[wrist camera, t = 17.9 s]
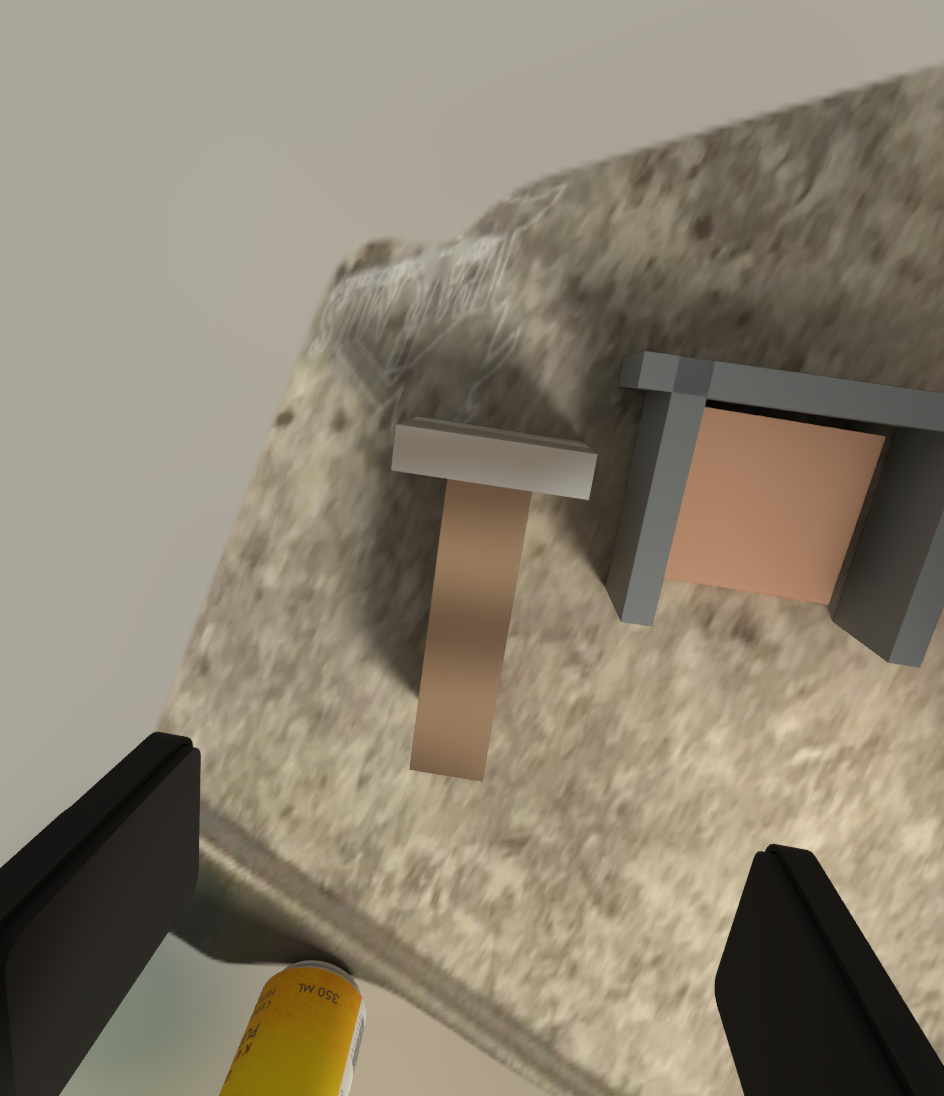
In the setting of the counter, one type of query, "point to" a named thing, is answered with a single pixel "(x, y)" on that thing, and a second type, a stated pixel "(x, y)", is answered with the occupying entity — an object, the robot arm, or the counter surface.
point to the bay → (893, 522)
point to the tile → (771, 505)
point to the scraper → (476, 571)
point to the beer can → (301, 1035)
